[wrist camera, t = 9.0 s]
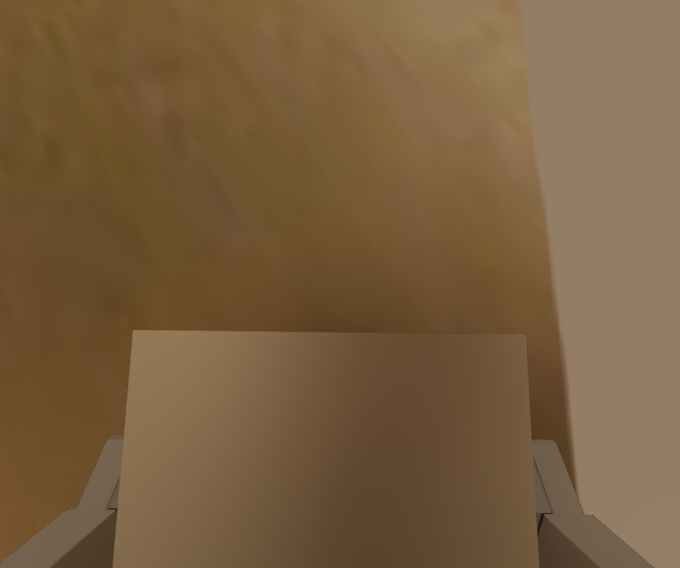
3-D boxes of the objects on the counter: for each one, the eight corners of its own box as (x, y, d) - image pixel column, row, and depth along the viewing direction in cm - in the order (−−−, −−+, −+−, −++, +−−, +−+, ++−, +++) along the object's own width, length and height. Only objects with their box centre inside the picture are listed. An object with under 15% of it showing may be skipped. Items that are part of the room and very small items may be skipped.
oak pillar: (235, 574, 15) (94, 784, 7) (244, 377, 16) (132, 330, 8) (431, 576, 15) (552, 790, 7) (427, 378, 16) (526, 334, 8)
